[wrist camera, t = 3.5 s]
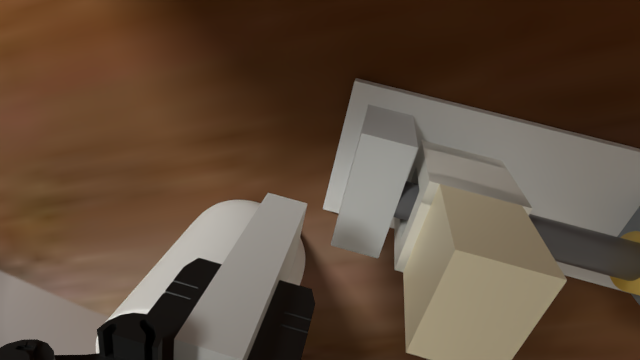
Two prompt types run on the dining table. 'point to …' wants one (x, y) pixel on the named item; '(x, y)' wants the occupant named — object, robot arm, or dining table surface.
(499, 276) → the sleeve
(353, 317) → the dining table surface
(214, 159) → the dining table surface
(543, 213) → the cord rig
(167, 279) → the cup
